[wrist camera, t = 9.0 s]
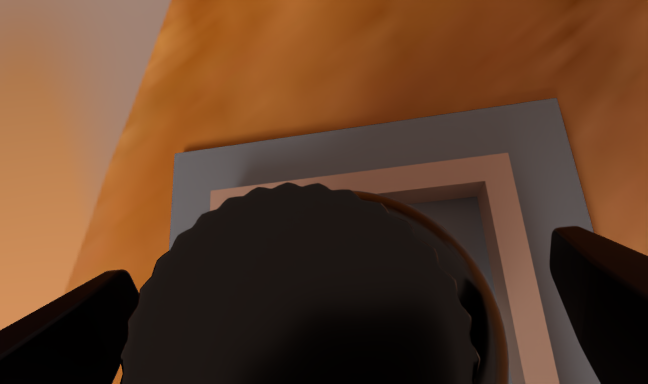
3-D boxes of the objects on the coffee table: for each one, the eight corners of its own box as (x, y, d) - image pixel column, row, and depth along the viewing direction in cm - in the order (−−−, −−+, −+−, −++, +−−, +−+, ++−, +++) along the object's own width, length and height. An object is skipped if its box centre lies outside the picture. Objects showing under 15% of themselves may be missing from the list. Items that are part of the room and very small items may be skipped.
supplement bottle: (395, 217, 18) (372, 30, 6) (501, 367, 15) (771, 495, 4) (260, 305, 18) (-3, 273, 6) (345, 468, 15) (160, 891, 4)
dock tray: (691, 620, 13) (759, 690, 10) (157, 593, 16) (111, 643, 13) (552, 104, 18) (573, 71, 16) (181, 158, 21) (151, 136, 19)
